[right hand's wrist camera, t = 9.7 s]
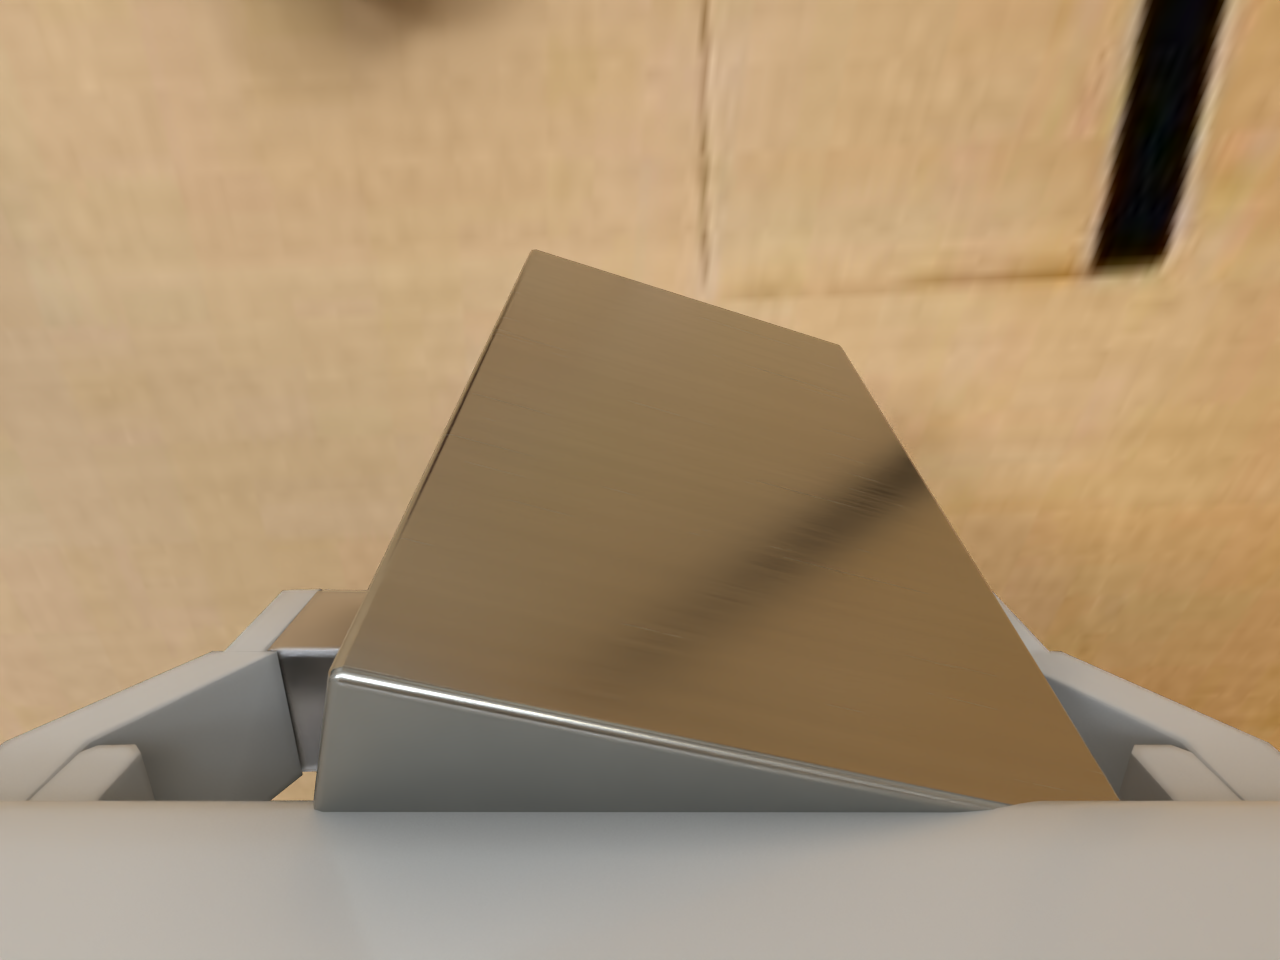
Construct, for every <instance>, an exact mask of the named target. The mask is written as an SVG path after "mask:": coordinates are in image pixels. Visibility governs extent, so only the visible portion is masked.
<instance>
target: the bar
mask: <svg viewBox="0 0 1280 960" xmlns="http://www.w3.org/2000/svg"><path fill="white" fill-rule="evenodd" d="M1034 801H1121V800H1120V798H1119V796H1118V795H1117V793H1116V792H1115V790H1114V788H1113V787H1112V785H1111V783H1110V782H1109V780H1108V779H1107V777H1106V775H1105V774H1104V772H1103V771H1102V769H1101V767H1100V766H1099V764H1098V762H1097V761H1096V759H1095V758H1094V756H1093V754H1092V753H1091V751H1090V749H1089V748H1088V746H1087V745H1086V743H1085V741H1084V740H1083V738H1082V736H1081V735H1080V733H1079V732H1078V730H1077V728H1076V727H1075V725H1074V723H1073V722H1072V720H1071V719H1070V717H1069V715H1068V714H1067V712H1066V711H1065V709H1064V707H1063V706H1062V704H1061V702H1060V701H1059V699H1058V698H1057V696H1056V694H1055V693H1054V691H1053V689H1052V688H1051V686H1050V685H1049V683H1048V681H1047V680H1046V678H1045V676H1044V675H1043V673H1042V672H1041V670H1040V668H1039V667H1038V665H1037V663H1036V662H1035V660H1034V659H1033V657H1032V655H1031V654H1030V652H1029V651H1028V649H1027V647H1026V646H1025V644H1024V642H1023V641H1022V639H1021V638H1020V636H1019V634H1018V633H1017V631H1016V629H1015V628H1014V626H1013V625H1012V623H1011V621H1010V620H1009V618H1008V616H1007V615H1006V613H1005V612H1004V610H1003V608H1002V607H1001V605H1000V603H999V602H998V600H997V599H996V597H995V595H994V594H993V592H992V591H991V589H990V587H989V586H988V584H987V582H986V581H985V579H984V578H983V576H982V574H981V573H980V571H979V569H978V568H977V566H976V565H975V563H974V561H973V560H972V558H971V556H970V555H969V553H968V552H967V550H966V548H965V547H964V545H963V543H962V542H961V540H960V539H959V537H958V535H957V534H956V532H955V531H954V529H953V527H952V526H951V524H950V522H949V521H948V519H947V518H946V516H945V514H944V513H943V511H942V509H941V508H940V506H939V505H938V503H937V501H936V500H935V498H934V496H933V495H932V493H931V492H930V490H929V488H928V487H927V485H926V483H925V482H924V480H923V479H922V477H921V475H920V474H919V472H918V471H917V469H916V467H915V466H914V464H913V462H912V461H911V459H910V458H909V456H908V454H907V453H906V451H905V449H904V448H903V446H902V445H901V443H900V441H899V440H898V438H897V436H896V435H895V433H894V432H893V430H892V428H891V427H890V425H889V423H888V422H887V420H886V419H885V417H884V415H883V414H882V412H881V411H880V409H879V407H878V406H877V404H876V402H875V401H874V399H873V398H872V396H871V394H870V393H869V391H868V389H867V388H866V386H865V385H864V383H863V381H862V380H861V378H860V376H859V375H858V373H857V372H856V370H855V368H854V367H853V365H852V363H851V362H850V360H849V359H848V357H847V355H846V354H845V352H844V351H843V349H842V347H841V346H839V345H837V344H834V343H831V342H828V341H825V340H821V339H818V338H815V337H812V336H809V335H806V334H802V333H799V332H796V331H793V330H790V329H786V328H783V327H780V326H777V325H774V324H771V323H767V322H764V321H761V320H758V319H755V318H752V317H748V316H745V315H742V314H739V313H736V312H733V311H729V310H726V309H723V308H720V307H717V306H714V305H710V304H707V303H704V302H701V301H698V300H694V299H691V298H688V297H685V296H682V295H679V294H675V293H672V292H669V291H666V290H663V289H660V288H656V287H653V286H650V285H647V284H644V283H641V282H637V281H634V280H631V279H628V278H625V277H621V276H618V275H615V274H612V273H609V272H606V271H602V270H599V269H596V268H593V267H590V266H587V265H583V264H580V263H577V262H574V261H571V260H568V259H564V258H561V257H558V256H555V255H552V254H549V253H545V252H542V251H539V250H532V251H531V252H530V253H529V256H528V258H527V260H526V262H525V264H524V266H523V268H522V270H521V272H520V274H519V276H518V278H517V280H516V283H515V285H514V287H513V289H512V291H511V293H510V295H509V297H508V299H507V301H506V303H505V305H504V307H503V310H502V312H501V314H500V316H499V318H498V320H497V322H496V324H495V326H494V328H493V330H492V332H491V334H490V337H489V339H488V341H487V343H486V345H485V347H484V349H483V351H482V353H481V355H480V357H479V359H478V362H477V364H476V366H475V368H474V370H473V372H472V374H471V376H470V378H469V380H468V382H467V384H466V386H465V389H464V391H463V393H462V395H461V397H460V399H459V401H458V403H457V405H456V407H455V409H454V411H453V413H452V416H451V418H450V420H449V422H448V424H447V426H446V428H445V430H444V432H443V434H442V436H441V438H440V441H439V443H438V445H437V447H436V449H435V451H434V453H433V455H432V457H431V459H430V461H429V463H428V465H427V468H426V470H425V472H424V474H423V476H422V478H421V480H420V482H419V484H418V486H417V488H416V490H415V492H414V495H413V497H412V499H411V501H410V503H409V505H408V507H407V509H406V511H405V513H404V515H403V517H402V519H401V522H400V524H399V526H398V528H397V530H396V532H395V534H394V536H393V538H392V540H391V542H390V544H389V547H388V549H387V551H386V553H385V555H384V557H383V559H382V561H381V563H380V565H379V567H378V569H377V571H376V574H375V576H374V578H373V580H372V582H371V584H370V586H369V588H368V590H367V592H366V594H365V596H364V598H363V601H362V603H361V605H360V607H359V609H358V611H357V613H356V615H355V617H354V619H353V621H352V623H351V625H350V628H349V630H348V632H347V634H346V636H345V638H344V640H343V642H342V644H341V646H340V648H339V650H338V653H337V655H336V657H335V659H334V661H333V663H332V665H331V667H330V669H329V671H328V678H327V687H326V696H325V704H324V713H323V722H322V731H321V740H320V749H319V757H318V766H317V775H316V784H315V793H314V801H313V806H314V809H315V810H318V811H321V812H970V811H983V810H993V809H996V808H1001V807H1006V806H1011V805H1016V804H1022V803H1028V802H1034Z"/></svg>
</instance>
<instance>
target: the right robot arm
mask: <svg viewBox="0 0 1280 960" xmlns="http://www.w3.org/2000/svg"><path fill="white" fill-rule="evenodd" d="M366 592H367V590H322V589H296V590H284V591H282V592H281V593H280V594H279V595H278V596H277V597H276V598H275V599H274V600H273V601H272V602H271V603H270V604H269V605H268V606H267V607H266V608H265V609H264V610H263V611H262V612H261V613H260V614H259V616H258V617H257V618H256V619H255V620H254V621H253V622H252V623H251V624H250V625H249V626H248V627H247V628H246V629H245V630H244V631H243V632H242V633H241V634H240V635H239V636H238V637H237V638H236V639H235V640H234V642H233V643H232V644H231V645H230V646H229V647H228V648H227V649H226V650H225V651H212V652H210V653H207V654H205V655H203V656H200V657H198V658H196V659H194V660H191V661H189V662H187V663H184V664H182V665H180V666H177V667H175V668H173V669H171V670H168V671H166V672H164V673H161V674H159V675H157V676H155V677H152V678H150V679H148V680H145V681H143V682H141V683H138V684H136V685H134V686H132V687H129V688H127V689H125V690H122V691H120V692H118V693H115V694H113V695H111V696H109V697H106V698H104V699H102V700H99V701H97V702H95V703H92V704H90V705H88V706H86V707H83V708H81V709H79V710H76V711H74V712H72V713H69V714H67V715H65V716H63V717H60V718H58V719H56V720H53V721H51V722H49V723H47V724H44V725H42V726H40V727H37V728H35V729H33V730H30V731H28V732H26V733H24V734H21V735H19V736H17V737H14V738H12V739H10V740H7V741H5V742H4V743H2V744H1V745H0V960H1280V752H1279V751H1278V750H1277V749H1275V748H1274V747H1273V746H1272V745H1271V744H1270V743H1268V742H1266V741H1263V740H1261V739H1259V738H1257V737H1254V736H1252V735H1250V734H1248V733H1245V732H1243V731H1241V730H1238V729H1236V728H1234V727H1232V726H1229V725H1227V724H1225V723H1223V722H1220V721H1218V720H1216V719H1213V718H1211V717H1209V716H1207V715H1204V714H1202V713H1200V712H1198V711H1195V710H1193V709H1191V708H1188V707H1186V706H1184V705H1182V704H1179V703H1177V702H1175V701H1173V700H1170V699H1168V698H1166V697H1163V696H1161V695H1159V694H1157V693H1154V692H1152V691H1150V690H1148V689H1145V688H1143V687H1141V686H1138V685H1136V684H1134V683H1132V682H1129V681H1127V680H1125V679H1123V678H1120V677H1118V676H1116V675H1113V674H1111V673H1109V672H1107V671H1104V670H1102V669H1100V668H1098V667H1095V666H1093V665H1091V664H1088V663H1086V662H1084V661H1082V660H1079V659H1077V658H1075V657H1073V656H1070V655H1068V654H1066V653H1063V652H1061V651H1048V650H1047V649H1046V648H1045V646H1044V645H1043V644H1042V643H1041V642H1040V641H1039V640H1038V639H1037V638H1036V637H1035V636H1034V635H1033V634H1032V633H1031V632H1030V631H1029V630H1028V628H1027V627H1026V626H1025V625H1024V624H1023V623H1022V622H1021V621H1020V620H1019V619H1018V618H1017V617H1016V616H1015V615H1014V614H1013V613H1012V611H1011V610H1010V609H1009V608H1008V607H1007V606H1006V605H1005V604H1004V603H1003V602H1002V601H1001V600H1000V599H999V598H998V597H997V596H996V595H995V593H994V592H993V594H994V595H995V597H996V599H997V600H998V602H999V603H1000V605H1001V607H1002V608H1003V610H1004V612H1005V613H1006V615H1007V616H1008V618H1009V620H1010V621H1011V623H1012V625H1013V626H1014V628H1015V629H1016V631H1017V633H1018V634H1019V636H1020V638H1021V639H1022V641H1023V642H1024V644H1025V646H1026V647H1027V649H1028V651H1029V652H1030V654H1031V655H1032V657H1033V659H1034V660H1035V662H1036V663H1037V665H1038V667H1039V668H1040V670H1041V672H1042V673H1043V675H1044V676H1045V678H1046V680H1047V681H1048V683H1049V685H1050V686H1051V688H1052V689H1053V691H1054V693H1055V694H1056V696H1057V698H1058V699H1059V701H1060V702H1061V704H1062V706H1063V707H1064V709H1065V711H1066V712H1067V714H1068V715H1069V717H1070V719H1071V720H1072V722H1073V723H1074V725H1075V727H1076V728H1077V730H1078V732H1079V733H1080V735H1081V736H1082V738H1083V740H1084V741H1085V743H1086V745H1087V746H1088V748H1089V749H1090V751H1091V753H1092V754H1093V756H1094V758H1095V759H1096V761H1097V762H1098V764H1099V766H1100V767H1101V769H1102V771H1103V772H1104V774H1105V775H1106V777H1107V779H1108V780H1109V782H1110V783H1111V785H1112V787H1113V788H1114V790H1115V792H1116V793H1117V795H1118V796H1119V798H1120V800H1121V801H1034V802H1028V803H1022V804H1016V805H1011V806H1006V807H1001V808H996V809H993V810H983V811H970V812H321V811H318V810H315V809H314V806H313V801H270V800H272V799H273V798H274V797H275V796H277V795H278V794H279V793H280V792H282V791H283V790H284V789H285V788H287V787H288V786H289V785H290V784H292V783H293V782H294V781H295V780H297V779H298V778H299V777H301V776H302V772H307V771H317V766H318V757H319V749H320V740H321V731H322V722H323V713H324V704H325V696H326V687H327V678H328V671H329V669H330V667H331V665H332V663H333V661H334V659H335V657H336V655H337V653H338V650H339V648H340V646H341V644H342V642H343V640H344V638H345V636H346V634H347V632H348V630H349V628H350V625H351V623H352V621H353V619H354V617H355V615H356V613H357V611H358V609H359V607H360V605H361V603H362V601H363V598H364V596H365V594H366Z"/></svg>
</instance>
